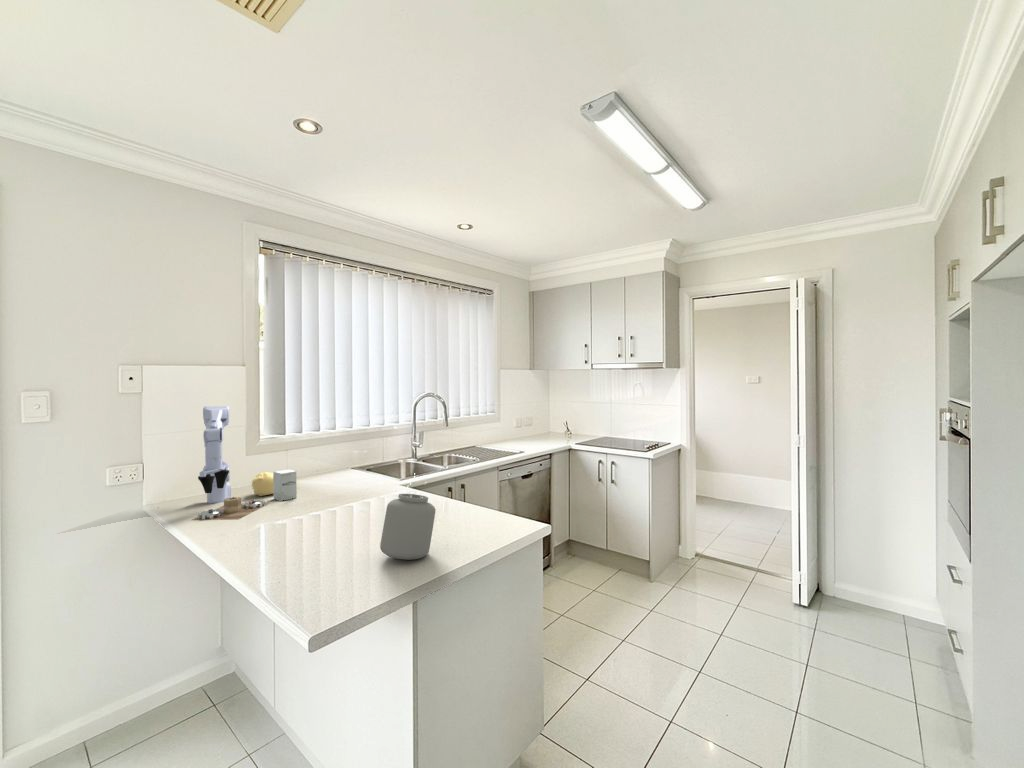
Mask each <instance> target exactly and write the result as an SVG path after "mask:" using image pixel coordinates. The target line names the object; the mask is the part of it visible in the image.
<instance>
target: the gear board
mask: <svg viewBox="0 0 1024 768" xmlns="http://www.w3.org/2000/svg"><path fill="white" fill-rule="evenodd" d="M269 504H271V503H270V502H268V503H267V502H265V505H264V506H262V507H257V508H255V509H253V508H250V509H246V508H245V509H242V503H241V511H239V512H235V513H225V512H224V515H222V516H220V517H218V518H217V517H215V518H213V519H210V518H209V519H205V520H204V521H224V520H225V521H227V520H228V521H230V520H232V521H233V520H234V521H236V520H240V519H242V518H244V517H246V516H248V515H250V514H252V513H254V512H256V511H257V510H260V509H262V508H264V507H266V506H268V505H269ZM216 509H219V510H223V511H224V505H222V506H220V507H217V508H215V509H214V510H216ZM191 521H203V520H202V519H198V516H197V517H195V518H192V519H191Z"/></svg>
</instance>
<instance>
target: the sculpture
mask: <svg viewBox="0 0 1024 768" xmlns="http://www.w3.org/2000/svg"><path fill="white" fill-rule="evenodd" d="M251 487H252V492H253V493H254V494H256V495H257V496H258V497H262V496H269V495H274V489H273V472H270V471H265V472H259V473H258V474H257V475H256V476H255V477H254V479H253V480H252V481H251Z"/></svg>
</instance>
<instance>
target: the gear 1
mask: <svg viewBox="0 0 1024 768" xmlns="http://www.w3.org/2000/svg"><path fill="white" fill-rule="evenodd" d="M215 509H216V510H215ZM215 509H212V508H210V509H208V510H204V511H201V512H198V513H197V517H198V519H202V520H201V521H206V520H205V519H209V518H210V519H213V518H215V517H217V518H218V517H220V516H222V515H224V511H223V510H219V509H217V508H215Z"/></svg>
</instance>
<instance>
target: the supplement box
mask: <svg viewBox="0 0 1024 768" xmlns="http://www.w3.org/2000/svg"><path fill="white" fill-rule="evenodd" d="M272 473H273V489H274V494H273V500H275V499H276V501H278V500H279V502H283V500H284V501H288V500H293V499H297V498H296V497H298V496H297V493H298V492H297V489H298V488H297V470H293V469H284V470H276V471H273V472H272ZM292 498H293V499H292Z"/></svg>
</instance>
